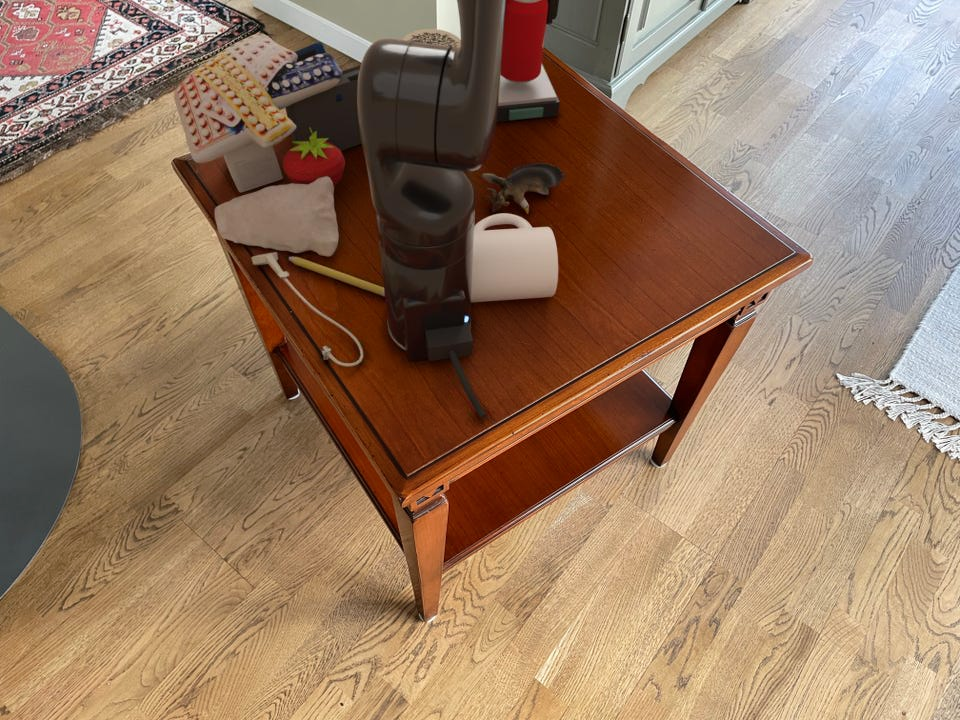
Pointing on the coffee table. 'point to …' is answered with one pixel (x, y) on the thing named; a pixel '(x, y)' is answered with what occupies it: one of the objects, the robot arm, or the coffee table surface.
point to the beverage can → (523, 39)
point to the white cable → (272, 261)
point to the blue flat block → (311, 51)
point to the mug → (513, 260)
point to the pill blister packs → (248, 96)
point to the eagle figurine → (523, 183)
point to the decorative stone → (283, 218)
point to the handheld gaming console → (329, 114)
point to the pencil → (337, 275)
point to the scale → (527, 99)
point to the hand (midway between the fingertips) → (523, 22)
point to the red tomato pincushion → (313, 161)
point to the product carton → (253, 166)
